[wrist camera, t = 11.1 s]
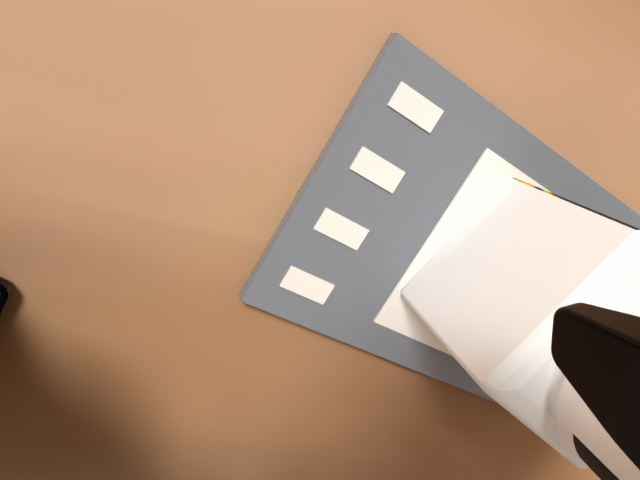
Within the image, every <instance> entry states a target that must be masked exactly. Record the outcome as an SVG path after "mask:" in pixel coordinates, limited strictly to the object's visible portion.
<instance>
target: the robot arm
mask: <svg viewBox="0 0 640 480" xmlns="http://www.w3.org/2000/svg"><path fill="white" fill-rule="evenodd" d="M11 292H12V288H11V285H10V284H9V283H8V281H6V280H5V279H3V278H0V293H1V295H0V316H1V314H2V312H3V310H4V308H5V306H6V304H7V302H8V299H9V297H10V295H11ZM551 354H552V357H553V360H554V362H555V363H556V365H557V367H558V368H559V369H560V371H561V372H562V373H563V375H564V376H565V377H566V379H567V380H568V381H569V383H570V384H571V385H572V387H573V388H574V389H575V391H576V392H577V393H578V395H579V396H580V397H581V399H582V400H583V401H584V403H585V404H586V405H587V407H588V408H589V409H590V411H591V412H592V413H593V415H594V416H595V417H596V419H597V420H598V421H599V423H600V424H601V425H602V427H603V428H604V429H605V430H606V432H607V433H608V434H609V435H610V437H611V438H612V439H613V441H614V442H615V443H616V444H617V445H618V446H619V448H620V449H621V450H622V451H623V452H624V453H625V455H626V456H627V457H628V458H629V459H630V460H631V461H632V462H633V464H634V465H635V466H636V467H637V468H638V469H639V470H640V317H639V316H635V315H631V314H627V313H623V312H619V311H615V310H611V309H607V308H603V307H599V306H595V305H591V304H586V303H574V304H571V305H567V306H563V307H560V308H558V309H557V310H556V312H555V313H554V317H553V328H552V340H551Z"/></svg>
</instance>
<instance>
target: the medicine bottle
mask: <svg viewBox="0 0 640 480" xmlns="http://www.w3.org/2000/svg"><path fill="white" fill-rule="evenodd" d="M401 297H402V298H403V300H404V301H405V302H406V303H407V304H408V306H409V307H410V308H411V309H412V310H413V311H414V312H415V314H416V315H417V316H418V317H419V318H420V319H421V320H422V322H423V323H424V324H425V325H426V326H427V327H428V328H429V330H430V331H431V332H432V333H433V334H434V335H435V336H436V338H437V339H438V340H439V341H440V342H441V343H442V344H443V346H444V347H445V348H446V349H447V350H448V351H449V352H450V354H451V355H452V356H453V357H454V358H455V359H456V360H457V362H458V363H459V364H460V365H461V366H462V367H463V368H464V370H465V371H466V372H467V373H468V374H469V375H470V376H471V378H472V379H473V380H474V381H475V382H476V383H477V384H478V386H479V387H480V388H481V389H482V390H483V391H484V392H485V393H486V394H487V395H489V396H490V397H491V398H492V399H494V400H495V401H496V402H497V403H499V404H500V405H501V406H502V407H503V408H505V409H506V410H507V411H508V412H510V413H511V414H512V415H513V416H515V417H516V418H517V419H518V420H519V421H521V422H522V423H523V424H524V425H526V426H527V427H528V428H529V429H530V430H532V431H533V432H534V433H535V434H537V435H538V436H539V437H540V438H542V439H543V440H544V441H545V442H546V443H548V444H549V445H550V446H551V447H553V448H554V449H555V450H556V451H558V452H559V453H560V454H561V455H562V456H564V457H565V458H566V459H567V460H569V461H570V462H571V463H572V464H574V465H575V466H576V467H578V468H581V469H587V468H590V469H591V470H592V471H593V472H594V473H595V474H596V475H597V476H598V477H599V478H600V479H601V480H640V470H639V469H638V468H637V467H636V466H635V465H634V464H633V462H632V461H631V460H630V459H629V458H628V457H627V456H626V455H625V453H624V452H623V451H622V450H621V449H620V448H619V446H618V445H617V444H616V443H615V442H614V441H613V439H612V438H611V437H610V435H609V434H608V433H607V432H606V430H605V429H604V428H603V427H602V425H601V424H600V423H599V421H598V420H597V419H596V417H595V416H594V415H593V413H592V412H591V411H590V409H589V408H588V407H587V405H586V404H585V403H584V401H583V400H582V399H581V397H580V396H579V395H578V393H577V392H576V391H575V389H574V388H573V387H572V385H571V384H570V383H569V381H568V380H567V379H566V377H565V376H564V375H563V373H562V372H561V371H560V369H559V368H558V367H557V365H556V363H555V362H554V360H553V357H552V354H551V340H552V328H553V317H554V313H555V312H556V310H557V309H558V308H560V307H563V306H567V305H571V304H574V303H586V304H591V305H595V306H599V307H603V308H607V309H611V310H615V311H619V312H623V313H627V314H631V315H635V316H639V317H640V229H639V228H636V227H634V226H631V225H629V224H627V223H624V222H622V221H619V220H617V219H614V218H612V217H609V216H607V215H605V214H602V213H600V212H597V211H595V210H592V209H590V208H588V207H585V206H583V205H580V204H578V203H575V202H573V201H570V200H568V199H566V198H563V197H561V196H558V195H556V194H553V193H551V192H548V191H546V190H544V189H541V188H539V187H536V186H534V185H531V184H529V183H526V182H524V181H522V180H519V179H517V178H508V179H507V180H505V181H504V182H503V184H502V185H501V186H500V187H499V188H498V189H497V190H496V191H495V192H494V193H493V194H492V195H491V196H490V197H489V198H488V199H487V200H486V201H485V202H484V203H483V204H482V205H481V206H480V208H479V209H478V210H477V211H476V212H475V213H474V214H473V215H472V216H471V217H470V218H469V219H468V220H467V221H466V222H465V223H464V224H463V225H462V226H461V227H460V228H459V229H458V230H457V232H456V233H455V234H454V235H453V236H452V237H451V238H450V239H449V240H448V241H447V242H446V243H445V244H444V245H443V246H442V247H441V248H440V249H439V250H438V251H437V252H436V253H435V254H434V256H433V257H432V258H431V259H430V260H429V261H428V262H427V263H426V264H425V265H424V266H423V267H422V268H421V269H420V270H419V271H418V272H417V273H416V274H415V275H414V276H413V277H412V278H411V280H410V281H409V282H408V283H407V284H406V285H405V286H404V287H403V288H402V290H401Z"/></svg>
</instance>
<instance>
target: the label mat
mask: <svg viewBox="0 0 640 480" xmlns="http://www.w3.org/2000/svg"><path fill="white" fill-rule="evenodd" d="M508 178H517V179H519V180H522V181H524V182H526V183H529V184H531V185H534V186H536V187H539V188H541V189H544V190H546V191H548V192H551V193H553V194H556V195H558V196H561V197H563V198H566V199H568V200H570V201H573V202H575V203H578V204H580V205H583V206H585V207H588V208H590V209H592V210H595V211H597V212H600V213H602V214H605V215H607V216H609V217H612V218H614V219H617V220H619V221H622V222H624V223H627V224H629V225H631V226H634V227H636V228H639V229H640V216H639V215H638V214H636V213H635V212H634V211H632V210H631V209H630V208H629V207H627V206H626V205H625V204H623V203H622V202H621V201H619V200H618V199H617V198H615V197H614V196H613V195H611V194H610V193H609V192H607V191H606V190H605V189H603V188H602V187H601V186H599V185H598V184H597V183H595V182H594V181H593V180H591V179H590V178H589V177H587V176H586V175H585V174H584V173H582V172H581V171H580V170H578V169H577V168H576V167H574V166H573V165H572V164H570V163H569V162H568V161H566V160H565V159H564V158H562V157H561V156H560V155H558V154H557V153H556V152H554V151H553V150H552V149H550V148H549V147H548V146H546V145H545V144H544V143H542V142H541V141H540V140H539V139H537V138H536V137H535V136H533V135H532V134H531V133H529V132H528V131H527V130H525V129H524V128H523V127H521V126H520V125H519V124H517V123H516V122H515V121H513V120H512V119H511V118H509V117H508V116H507V115H505V114H504V113H503V112H501V111H500V110H499V109H497V108H496V107H495V106H494V105H492V104H491V103H490V102H488V101H487V100H486V99H484V98H483V97H482V96H480V95H479V94H478V93H476V92H475V91H474V90H472V89H471V88H470V87H468V86H467V85H466V84H464V83H463V82H462V81H460V80H459V79H458V78H456V77H455V76H454V75H452V74H451V73H450V72H449V71H447V70H446V69H445V68H443V67H442V66H441V65H439V64H438V63H437V62H435V61H434V60H433V59H431V58H430V57H429V56H427V55H426V54H425V53H423V52H422V51H421V50H419V49H418V48H417V47H415V46H414V45H413V44H411V43H410V42H409V41H408V40H406V39H405V38H404V37H402V36H401V35H400V34H398V33H391V34H390V36H389V38H388V39H387V41H386V43H385V45H384V46H383V48H382V50H381V51H380V53H379V55H378V57H377V58H376V60H375V62H374V64H373V65H372V67H371V69H370V70H369V72H368V74H367V76H366V77H365V79H364V81H363V82H362V84H361V86H360V88H359V89H358V91H357V93H356V95H355V96H354V98H353V100H352V101H351V103H350V105H349V107H348V108H347V110H346V112H345V113H344V115H343V117H342V119H341V120H340V122H339V124H338V125H337V127H336V129H335V131H334V132H333V134H332V136H331V138H330V139H329V141H328V143H327V144H326V146H325V148H324V150H323V151H322V153H321V155H320V156H319V158H318V160H317V162H316V163H315V165H314V167H313V168H312V170H311V172H310V174H309V175H308V177H307V179H306V181H305V182H304V184H303V186H302V187H301V189H300V191H299V193H298V194H297V196H296V198H295V199H294V201H293V203H292V205H291V206H290V208H289V210H288V212H287V213H286V215H285V217H284V218H283V220H282V222H281V224H280V225H279V227H278V229H277V230H276V232H275V234H274V236H273V237H272V239H271V241H270V242H269V244H268V246H267V248H266V249H265V251H264V253H263V255H262V256H261V258H260V260H259V261H258V263H257V265H256V267H255V268H254V270H253V272H252V273H251V275H250V277H249V279H248V280H247V282H246V284H245V285H244V287H243V289H242V291H241V292H240V294H239V296H240V300H241V302H244V303H246V304H249V305H251V306H254V307H256V308H259V309H261V310H264V311H266V312H269V313H271V314H274V315H276V316H279V317H281V318H284V319H286V320H289V321H291V322H294V323H296V324H299V325H301V326H304V327H307V328H309V329H312V330H314V331H317V332H319V333H322V334H324V335H327V336H329V337H332V338H334V339H337V340H339V341H342V342H344V343H347V344H349V345H352V346H354V347H357V348H359V349H362V350H364V351H367V352H369V353H372V354H374V355H377V356H379V357H382V358H384V359H387V360H390V361H392V362H395V363H397V364H400V365H402V366H405V367H407V368H410V369H412V370H415V371H417V372H420V373H422V374H425V375H427V376H430V377H432V378H435V379H437V380H440V381H442V382H445V383H447V384H450V385H452V386H455V387H457V388H460V389H462V390H465V391H467V392H470V393H473V394H475V395H478V396H480V397H483V398H485V399H488V400H490V401H493V402H495V403H497V402H496V401H495V400H494V399H492V398H491V397H490V396H489V395H487V394H486V393H485V392H484V391H483V390H482V389H481V388H480V387H479V386H478V384H477V383H476V382H475V381H474V380H473V379H472V378H471V376H470V375H469V374H468V373H467V372H466V371H465V370H464V368H463V367H462V366H461V365H460V364H459V363H458V362H457V360H456V359H455V358H454V357H453V356H452V355H451V354H450V352H449V351H448V350H447V349H446V348H445V347H444V346H443V344H442V343H441V342H440V341H439V340H438V339H437V338H436V336H435V335H434V334H433V333H432V332H431V331H430V330H429V328H428V327H427V326H426V325H425V324H424V323H423V322H422V320H421V319H420V318H419V317H418V316H417V315H416V314H415V312H414V311H413V310H412V309H411V308H410V307H409V306H408V304H407V303H406V302H405V301H404V300H403V298H402V297H401V290H402V288H403V287H404V286H405V285H406V284H407V283H408V282H409V281H410V280H411V278H412V277H413V276H414V275H415V274H416V273H417V272H418V271H419V270H420V269H421V268H422V267H423V266H424V265H425V264H426V263H427V262H428V261H429V260H430V259H431V258H432V257H433V256H434V254H435V253H436V252H437V251H438V250H439V249H440V248H441V247H442V246H443V245H444V244H445V243H446V242H447V241H448V240H449V239H450V238H451V237H452V236H453V235H454V234H455V233H456V232H457V230H458V229H459V228H460V227H461V226H462V225H463V224H464V223H465V222H466V221H467V220H468V219H469V218H470V217H471V216H472V215H473V214H474V213H475V212H476V211H477V210H478V209H479V208H480V206H481V205H482V204H483V203H484V202H485V201H486V200H487V199H488V198H489V197H490V196H491V195H492V194H493V193H494V192H495V191H496V190H497V189H498V188H499V187H500V186H501V185H502V184H503V182H504V181H505V180H507V179H508ZM498 404H499V403H498Z"/></svg>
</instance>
